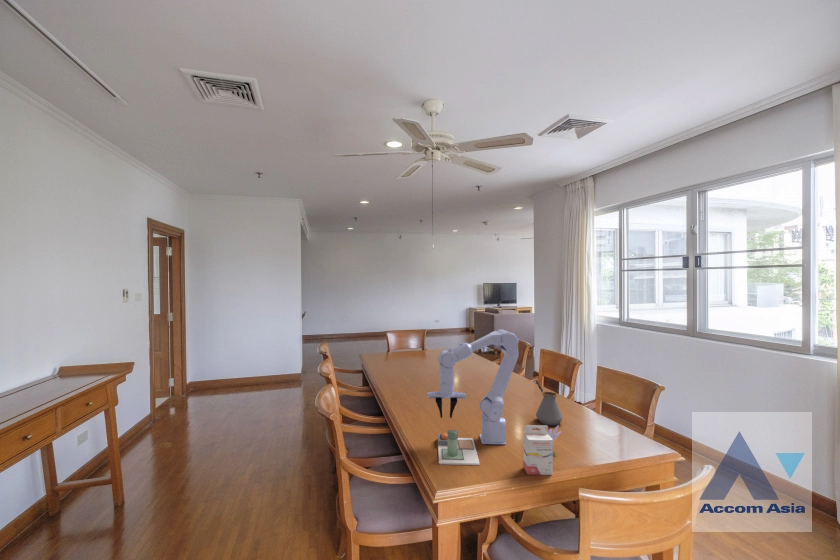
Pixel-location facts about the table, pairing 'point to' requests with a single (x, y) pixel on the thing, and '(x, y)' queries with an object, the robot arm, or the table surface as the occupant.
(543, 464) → the ink cartridge box
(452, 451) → the green rounded cylinder
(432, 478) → the table surface
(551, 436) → the water lily
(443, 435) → the button
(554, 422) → the coffee pot
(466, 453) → the picture board
